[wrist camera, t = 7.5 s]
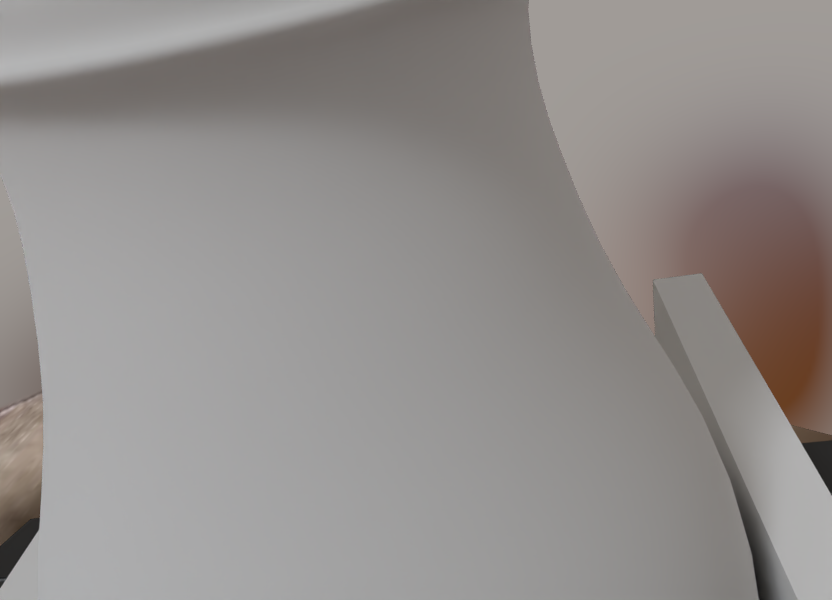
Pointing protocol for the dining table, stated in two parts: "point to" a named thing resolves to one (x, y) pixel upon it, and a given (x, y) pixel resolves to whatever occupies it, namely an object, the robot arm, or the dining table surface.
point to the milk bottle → (335, 317)
